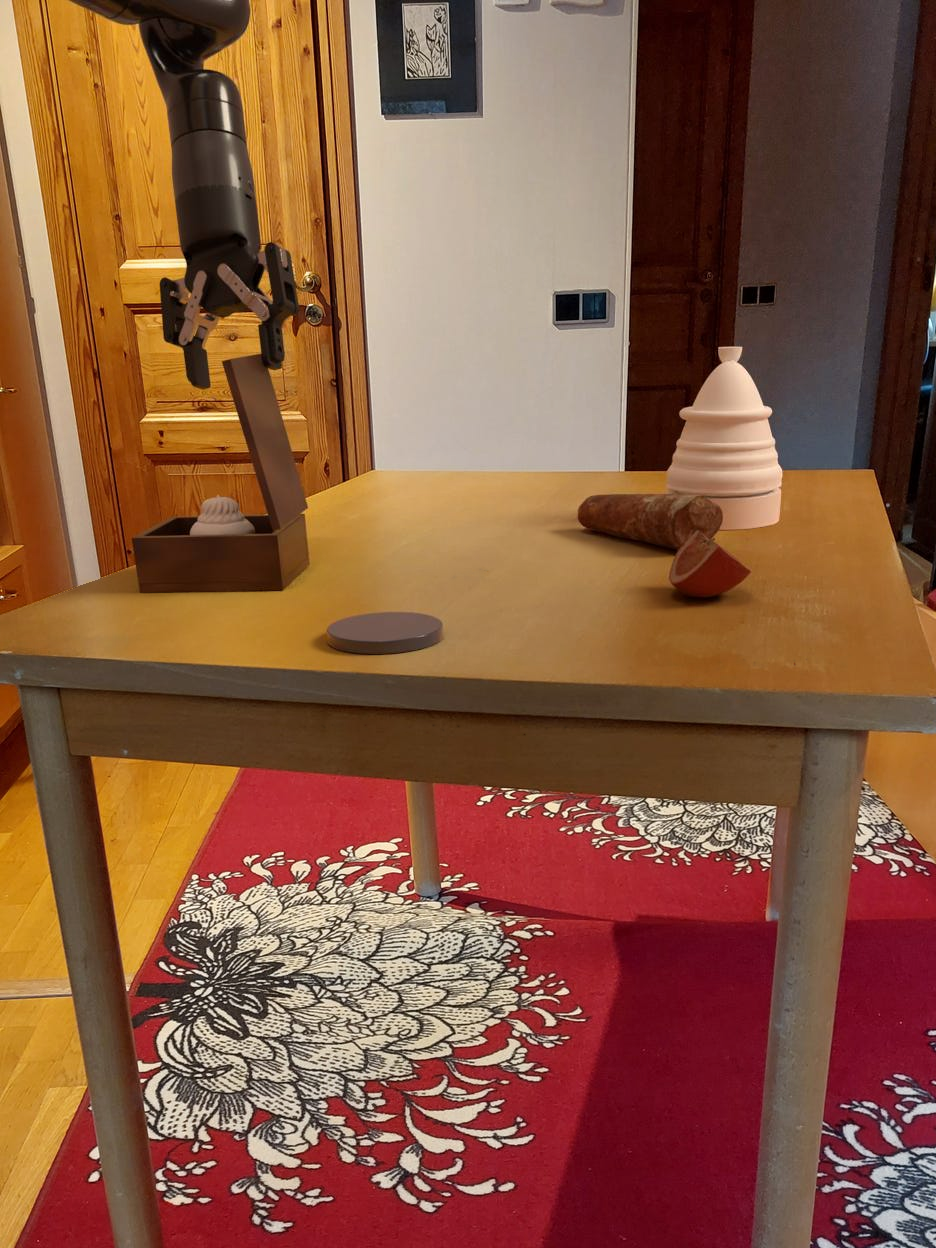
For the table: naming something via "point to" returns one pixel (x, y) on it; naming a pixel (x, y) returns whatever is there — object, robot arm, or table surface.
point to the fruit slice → (705, 568)
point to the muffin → (221, 518)
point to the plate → (385, 632)
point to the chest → (220, 557)
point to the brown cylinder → (651, 517)
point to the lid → (266, 438)
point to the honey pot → (729, 449)
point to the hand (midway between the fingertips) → (236, 377)
